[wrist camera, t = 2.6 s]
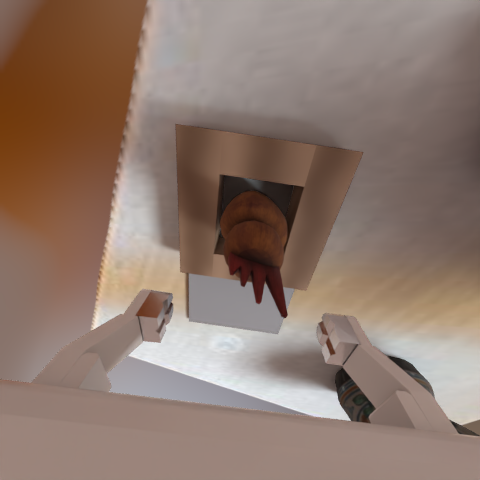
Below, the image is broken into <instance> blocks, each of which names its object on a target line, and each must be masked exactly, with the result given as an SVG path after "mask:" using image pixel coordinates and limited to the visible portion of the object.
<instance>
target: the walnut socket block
mask: <svg viewBox="0 0 480 480" xmlns="http://www.w3.org/2000/svg"><path fill="white" fill-rule="evenodd" d="M176 152H177V183H178V213H179V243H180V272H182V273H189V274H196V275H203V276H210V277H217V278H224V279H230V280H237V281H240V278H238V277H237V276H236V275H235V274H234V275H233V276H232V275H230V273H229V267H228V265H227V264H226V261H225V258H224V252H223V247H224V243H225V239H224V238H219V235H220V219H221V212H222V200H223V189H224V177H225V175H229V176H235V177H242V178H249V179H255V180H262V181H269V182H275V183H282V184H289V185H294V188H293V192H292V195H291V199H290V203H289V206H288V210H287V214H286V217H285V219H286V221H287V240H286V243H285V245H284V247H283V249H284V261H283V264H282V267H281V269H280V273H281V278H282V284H283V287H285V288H292V289H299V290H307V287H308V285H309V283H310V280H311V278H312V275H313V273H314V271H315V268H316V266H317V263H318V261H319V258H320V256H321V254H322V251H323V249H324V246H325V244H326V242H327V239H328V237H329V234H330V232H331V229H332V227H333V225H334V222H335V220H336V217H337V215H338V213H339V210H340V208H341V205H342V203H343V200H344V198H345V196H346V193H347V191H348V188H349V186H350V184H351V181H352V179H353V176H354V174H355V172H356V169H357V167H358V164H359V162H360V159H361V157H362V155H363V152H359V151H352V150H346V149H340V148H333V147H326V146H320V145H313V144H306V143H300V142H293V141H286V140H280V139H273V138H266V137H260V136H253V135H246V134H240V133H233V132H227V131H220V130H213V129H207V128H200V127H193V126H186V125H179V124H176ZM247 282H250V281H247ZM251 283H252V282H251ZM265 285H267V284H266V282H265Z"/></svg>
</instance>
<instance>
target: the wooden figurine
mask: <svg viewBox="0 0 480 480" xmlns="http://www.w3.org/2000/svg"><path fill="white" fill-rule="evenodd" d="M220 228H221V234H222V236H223V237H224V239H225V243H224V247H223V252H224V258H225V261H226V264H227V265H228V267H229V273H230V275H232V276H233V275H234V274H235V275H236V276H237V277H238V278H240V284H241V286H242V287H245V285H246V283H247V281H250V282H252V285H253V291H254V296H255V301H256V303H257V304H260V303H261V301H262V296H263V290H264V284H265V282H266V284H267V286H268V289H269V291H270V293H271V295H272V297H273V299H274V302H275V304H276V306H277V308H278V310H279V312H280V315H281V316H282V317H283V318H286V317H287V315H288V314H287V308H286V302H285V296H284V290H283V284H282V278H281V273H280V269H281V267H282V264H283V261H284V249H283V247H284V245H285V243H286V240H287V221H286V219H285V217H284V215H283V214H282V212H281V210H280V209H279V208H278V206H277V205H276V204H275V203H274V202H273V201H272V200H271V199H269V198H268V197H267V196H266V195H264V194H262V193H260V192H258V191H255V190H254V191H244V192H242V193H241V194H239V195H237V196H236V197H234V198H233V199H232V201H231V202H230V203H229V204H228V205H227V207H226V208H225V210H224V212H223V215H222V217H221V219H220Z"/></svg>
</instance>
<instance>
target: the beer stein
mask: <svg viewBox="0 0 480 480" xmlns="http://www.w3.org/2000/svg"><path fill="white" fill-rule="evenodd" d="M388 358H389V359H390V360H392V361H393V362H394V363H395V364H396V365H398V366H399V367H400V368H401V369H402V370H403V371H405V372H406V373H407V374H408V375H409V376H411V377H412V378H413V379H414V380H415V381H416V382H418V383H419V384H420V385H421V386H422V387H424V388H425V389H426V390H427V391H428V392H429V393H431V394H432V396H433V397H434V393H433V389H432V387H431V385H430V383H429V382H428V381H427V380H426V379H425V378H424V377H423V376H422V375H421V374H420V373H419V372H418V371H417V370H416V368H415V367H414V366H413V365H412V364H411V363H409V362H407V361H405V360H403V359H398V358H394V357H388ZM335 383H336V387H337V394H338V400H339V402H340V405H341V406H342V408H343V409H344V411H345V412H346V413H347V415H348V416H349V418H350V420H351V421H354V422H363V423H371V422H370V420H369V416H370V414H371V413H372V412H373V411H374V410H376V408H375V407H374V405H373V404H372V403H371V402H370V400H369V399H368V398H367V397H366V395H365V394H364V393H363V392H362V390H361V389H360V388H359V387H358V386H357V384H356V383H355V382H354V381H353V379H352V378H351V377H350V376H349V374H348V373H347V372H346V371H345V369H344V368H341V370H340V371H339V372H338V373H337V374H336V380H335ZM434 399H435V397H434ZM450 422H451V423H452V425H453V426H454V427H455V429H456V430H457V432H458V433H459V434H463V435H471V436H479V435H477V434H476V433H474V432H472V431H470V430H468V429H467V428H465V427H463V426H461V425H459V424H457V423H455V422H453V421H451V420H450ZM479 437H480V436H479Z"/></svg>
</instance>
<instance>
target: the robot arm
mask: <svg viewBox="0 0 480 480" xmlns="http://www.w3.org/2000/svg"><path fill="white" fill-rule="evenodd" d="M172 299H173V296H172V293H166V292H160V291H154V290H146V289H142V290H141V291H140V292H139V293H138V295H137V296H136V298H135V299H134V300H133V302H132V303H131V305H130V306H129V307H128V309H127V310H126V311H125V313H124V314H120V315H118V316H116V317H115V318H113V319H111V320H109V321H108V322H106V323H104V324H102V325H101V326H99V327H97V328H96V329H94V330H92V331H90V332H89V333H87V334H85V335H83V336H82V337H80V338H78V339H77V340H75V341H73V342H72V343H70V344H68V345H66V346H64V347H63V348H62V349H61V350H60V351H59V352H58V353H57V354H56V355H55V357H54V358H53V359H52V360H51V361H50V362H49V363H48V364H47V365H46V367H45V368H44V369H43V370H42V371H41V372H40V373H39V374H38V375H37V377H36V378H35V379H34V380H33V381H32V382H31V383H29V382H20V381H12V380H4V379H0V480H480V437H479V436H471V435H463V434H459V433H458V432H457V430H456V429H455V427H454V426H453V425H452V423H451V422H450V420H449V419H448V417H447V416H446V415H445V413H444V412H443V410H442V409H441V407H440V406H439V405H438V403H437V402H436V400H435V399H434V397H433V396H432V394H431V393H429V392H428V391H427V390H426V389H425V388H424V387H422V386H421V385H420V384H419V383H418V382H416V381H415V380H414V379H413V378H412V377H411V376H409V375H408V374H407V373H406V372H405V371H403V370H402V369H401V368H400V367H399V366H398V365H396V364H395V363H394V362H393V361H392V360H390V359H389V358H388V357H387V356H386V355H385V354H383V353H382V352H381V351H380V350H379V349H377V348H376V347H374V346H372V345H371V343H370V341H369V340H368V338H367V336H366V335H365V333H364V331H363V329H362V328H361V326H360V324H359V323H358V321H357V319H356V318H355V317H353V316H345V315H337V314H329V313H325V314H323V316H322V320H323V321H322V322H320V323H319V324H318V326H317V332H316V333H317V338H318V341H319V343H320V344H321V345H322V346H323V347H322V353H323V356H324V359H325V362H326V363H327V364H333V365H340V366H343V368H344V369H345V371H346V372H347V373H348V374H349V376H350V377H351V378H352V379H353V381H354V382H355V383H356V384H357V386H358V387H359V388H360V389H361V390H362V392H363V393H364V394H365V395H366V397H367V398H368V399H369V400H370V402H371V403H372V404H373V405H374V407H375V408H376V410H374V411H373V412H372V413H371V414H370V416H369V420H370V422H371V423H363V422H354V421H346V420H338V419H330V418H321V417H313V416H305V415H296V414H288V413H280V412H271V411H263V410H254V409H246V408H238V407H230V406H221V405H212V404H205V403H195V402H188V401H180V400H171V399H163V398H154V397H145V396H138V395H129V394H121V393H113V392H109V391H110V389H111V383H110V381H109V378H108V376H107V373H108V372H109V371H111V370H112V369H113V368H114V367H115V366H116V365H117V364H119V363H120V362H121V361H122V360H123V359H124V358H125V357H127V356H128V355H129V354H130V353H131V352H132V351H133V350H135V349H136V348H137V347H138V346H139V345H140V344H141V343H143V341H148V342H159V343H161V340H162V338H163V336H164V334H165V331H166V326H165V325H167V324H168V323H169V322H170V320H171V317H172V313H173V304H172V303H171V301H172Z"/></svg>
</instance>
